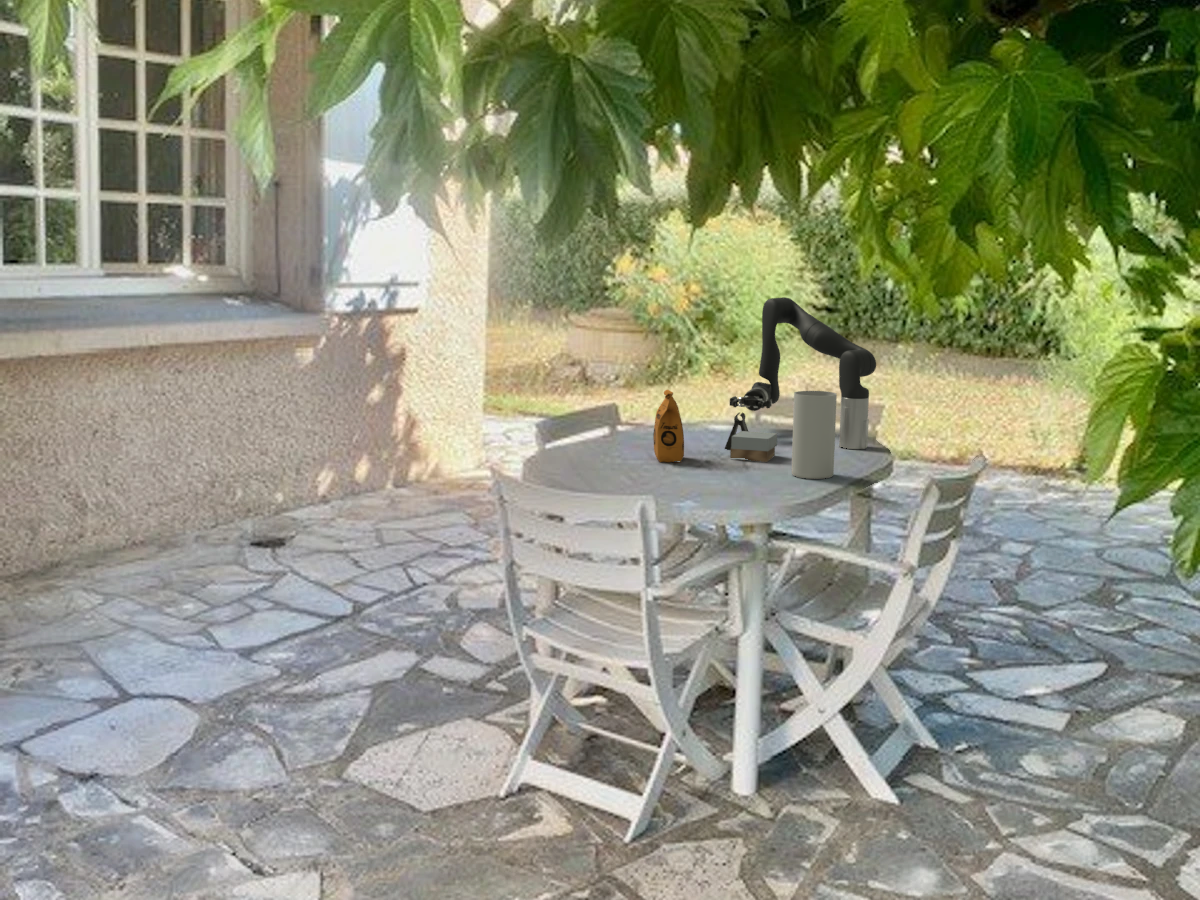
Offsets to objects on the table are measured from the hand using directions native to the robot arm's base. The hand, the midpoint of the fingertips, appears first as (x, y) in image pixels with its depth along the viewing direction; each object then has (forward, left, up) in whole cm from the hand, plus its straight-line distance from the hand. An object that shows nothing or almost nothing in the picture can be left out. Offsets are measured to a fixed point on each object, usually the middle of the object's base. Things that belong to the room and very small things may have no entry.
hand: (746, 405), depth 433 cm
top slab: (-9, +27, -10) cm, 30 cm away
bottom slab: (-8, +27, -14) cm, 31 cm away
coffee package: (+17, +40, -13) cm, 45 cm away
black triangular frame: (0, +12, -13) cm, 18 cm away
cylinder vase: (-31, +51, -13) cm, 61 cm away
